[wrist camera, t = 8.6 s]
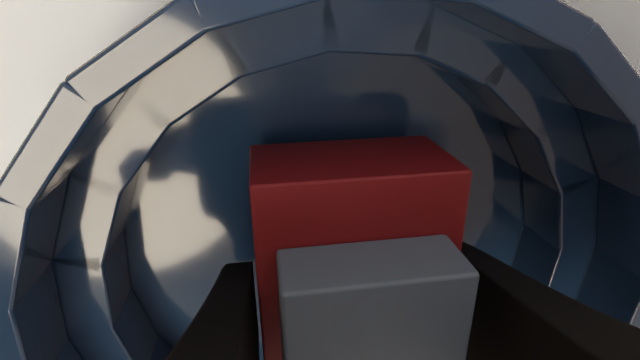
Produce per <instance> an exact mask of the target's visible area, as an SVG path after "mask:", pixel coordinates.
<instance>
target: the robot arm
mask: <svg viewBox="0 0 640 360" xmlns="http://www.w3.org/2000/svg"><path fill="white" fill-rule="evenodd" d="M461 252H462V254H463V255H464V256H465V257H466V258H467V260H468V261H469V262H470V263H471V264H472V265H473V267H474V268H475V269H476V270H477V271H478V273H479V283H478V289H477V295H476V301H475V307H474V313H473V319H472V325H471V331H470V337H469V343H468V349H467V355H466V360H640V328H638V327H635V326H633V325H630V324H628V323H626V322H623V321H621V320H618V319H616V318H614V317H611V316H609V315H607V314H604V313H602V312H600V311H598V310H595V309H593V308H591V307H589V306H587V305H585V304H583V303H581V302H579V301H577V300H575V299H572V298H570V297H568V296H566V295H564V294H562V293H560V292H558V291H556V290H554V289H552V288H550V287H548V286H546V285H545V284H543V283H541V282H539V281H537V280H535V279H533V278H531V277H529V276H528V275H526V274H524V273H522V272H520V271H518V270H516V269H515V268H513V267H511V266H509V265H507V264H505V263H504V262H502V261H500V260H498V259H496V258H494V257H493V256H491V255H489V254H487V253H485V252H483V251H481V250H479V249H477V248H476V247H473V246H471V245H469V244H467V243H465V242H462V249H461ZM165 360H260V359H259V330H258V318H257V307H256V295H255V284H254V273H253V261H249V262H239V263H228V264H226V265H225V266H224V267H223V268H222V269H221V272H220V274H219V276H218V278H217V280H216V282H215V284H214V286H213V287H212V289H211V291H210V293H209V294H208V296H207V298H206V300H205V301H204V303H203V305H202V306H201V308H200V309H199V311H198V313H197V314H196V316H195V317H194V319H193V321H192V322H191V324H190V325H189V327H188V328H187V330H186V331H185V332H184V334H183V335H182V337H181V338H180V339H179V341H178V342H177V344H176V345H175V346H174V348H173V349H172V350H171V352H170V353H169V355H168V356H167V357H166V359H165Z"/></svg>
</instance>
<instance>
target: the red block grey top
mask: <svg viewBox="0 0 640 360" xmlns="http://www.w3.org/2000/svg"><path fill="white" fill-rule="evenodd" d="M471 179H472V170H471V169H469V168H468V167H467V166H465V165H464V164H463V163H461V162H460V161H459V160H457V159H456V158H455V157H453V156H452V155H450V154H449V153H448V152H446V151H445V150H444V149H442V148H441V147H440V146H438V145H437V144H436V143H434V142H433V141H432V140H430V139H429V138H428V137H426V136H424V135H422V136H404V137H386V138H368V139H350V140H333V141H315V142H297V143H279V144H261V145H252V146H250V164H249V194H250V205H251V217H252V229H253V241H254V252H255V264H256V276H257V288H258V299H259V311H260V323H261V334H262V346H263V358H264V360H466V355H467V349H468V343H469V337H470V331H471V325H472V319H473V313H474V307H475V301H476V295H477V289H478V283H479V273H478V271H477V270H476V269H475V268H474V267H473V265H472V264H471V263H470V262H469V261H468V260H467V258H466V257H465V256H464V255H463V254H462V252H461V249H462V242H463V235H464V228H465V221H466V214H467V207H468V200H469V193H470V186H471Z"/></svg>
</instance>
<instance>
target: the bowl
mask: <svg viewBox="0 0 640 360" xmlns="http://www.w3.org/2000/svg"><path fill="white" fill-rule="evenodd" d="M422 135H424V136H426V137H428V138H429V139H430V140H432V141H433V142H434V143H436V144H437V145H438V146H440V147H441V148H442V149H444V150H445V151H446V152H448V153H449V154H450V155H452V156H453V157H455V158H456V159H457V160H459V161H460V162H461V163H463V164H464V165H465V166H467V167H468V168H469V169H471V170H472V179H471V186H470V193H469V200H468V207H467V214H466V221H465V228H464V235H463V242H465V243H467V244H469V245H471V246H473V247H476V248H477V249H479V250H481V251H483V252H485V253H487V254H489V255H491V256H493V257H494V258H496V259H498V260H500V261H502V262H504V263H505V264H507V265H509V266H511V267H513V268H515V269H516V270H518V271H520V272H522V273H524V274H526V275H528V276H529V277H531V278H533V279H535V280H537V281H539V282H541V283H543V284H545V285H546V286H548V287H550V288H552V289H554V290H556V291H558V292H560V293H562V294H564V295H566V296H568V297H570V298H572V299H575V300H577V301H579V302H581V303H583V304H585V305H587V306H589V307H591V308H593V309H595V310H598V311H600V312H602V313H604V314H607V315H609V316H611V317H614V318H616V319H618V320H621V321H623V322H626V323H628V324H630V325H633V326H635V327H638V328H640V77H639V76H638V74H637V73H636V72H635V71H634V69H633V68H632V67H631V65H630V64H629V63H628V61H627V60H626V59H625V58H624V56H623V55H622V54H621V52H620V51H619V50H618V48H617V47H616V46H615V45H614V43H613V42H612V41H611V39H610V38H609V37H608V35H607V34H606V33H605V32H604V30H603V29H602V28H601V26H600V25H599V24H598V23H597V22H594V20H593V19H592V18H591V17H589V16H587V15H585V14H583V13H581V12H579V11H578V10H576V9H574V8H572V7H570V6H568V5H566V4H564V3H563V2H561V1H559V0H172V1H170V2H169V3H168V4H166V5H165V6H164V7H162V8H161V9H159V10H158V11H157V12H155V13H154V14H152V15H151V16H150V17H148V18H147V19H146V20H144V21H143V22H141V23H140V24H139V25H137V26H136V27H134V28H133V29H132V30H130V31H129V32H128V33H126V34H125V35H123V36H122V37H121V38H119V39H118V40H116V41H115V42H114V43H112V44H111V45H110V46H108V47H107V48H105V49H104V50H103V51H101V52H100V53H98V54H97V55H96V56H94V57H93V58H92V59H90V60H89V61H87V62H86V63H85V64H83V65H82V66H80V67H79V68H78V69H76V70H75V71H74V72H72V73H71V74H69V75H68V76H67V77H66V79H65V81H63V82H62V83H60V84H59V86H58V88H57V89H56V91H55V92H54V94H53V96H52V97H51V99H50V100H49V102H48V104H47V105H46V107H45V108H44V110H43V112H42V113H41V115H40V116H39V118H38V119H37V121H36V123H35V124H34V126H33V127H32V129H31V131H30V132H29V134H28V135H27V137H26V139H25V140H24V142H23V143H22V145H21V146H20V148H19V150H18V151H17V153H16V154H15V156H14V158H13V159H12V161H11V162H10V164H9V166H8V167H7V169H6V170H5V172H4V173H3V175H2V177H1V178H0V360H165V359H166V357H167V356H168V355H169V353H170V352H171V350H172V349H173V348H174V346H175V345H176V344H177V342H178V341H179V339H180V338H181V337H182V335H183V334H184V332H185V331H186V330H187V328H188V327H189V325H190V324H191V322H192V321H193V319H194V317H195V316H196V314H197V313H198V311H199V309H200V308H201V306H202V305H203V303H204V301H205V300H206V298H207V296H208V294H209V293H210V291H211V289H212V287H213V286H214V284H215V282H216V280H217V278H218V276H219V274H220V272H221V269H222V268H223V267H224V266H225V265H226V264H228V263H239V262H249V261H253V273H254V284H255V295H256V307H257V318H258V330H259V359H260V360H264V358H263V346H262V334H261V323H260V311H259V299H258V288H257V276H256V264H255V252H254V241H253V229H252V217H251V205H250V194H249V164H250V146H252V145H261V144H279V143H297V142H315V141H333V140H350V139H368V138H386V137H404V136H422Z"/></svg>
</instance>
